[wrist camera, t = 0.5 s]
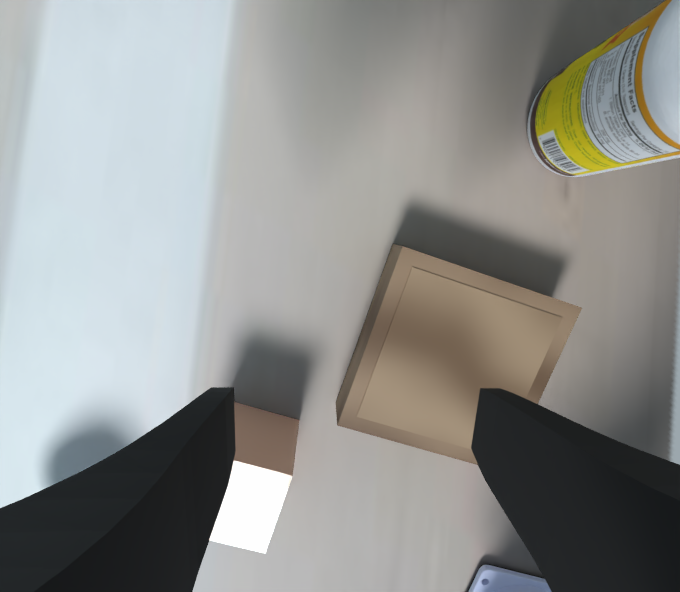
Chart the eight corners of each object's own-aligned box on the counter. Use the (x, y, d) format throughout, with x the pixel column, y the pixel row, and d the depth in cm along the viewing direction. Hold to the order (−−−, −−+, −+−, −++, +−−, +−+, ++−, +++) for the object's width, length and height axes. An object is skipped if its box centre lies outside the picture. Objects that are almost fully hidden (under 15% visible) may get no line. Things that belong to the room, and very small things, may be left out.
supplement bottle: (632, 72, 19) (981, -100, 9) (610, 182, 20) (901, 138, 10) (530, 62, 19) (773, -129, 9) (513, 174, 20) (712, 121, 10)
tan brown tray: (485, 446, 23) (506, 473, 20) (335, 402, 22) (337, 425, 19) (551, 298, 21) (582, 308, 19) (392, 243, 20) (402, 246, 18)
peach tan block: (277, 482, 23) (265, 553, 18) (207, 463, 22) (174, 531, 17) (299, 419, 22) (292, 475, 17) (226, 399, 21) (198, 450, 16)
